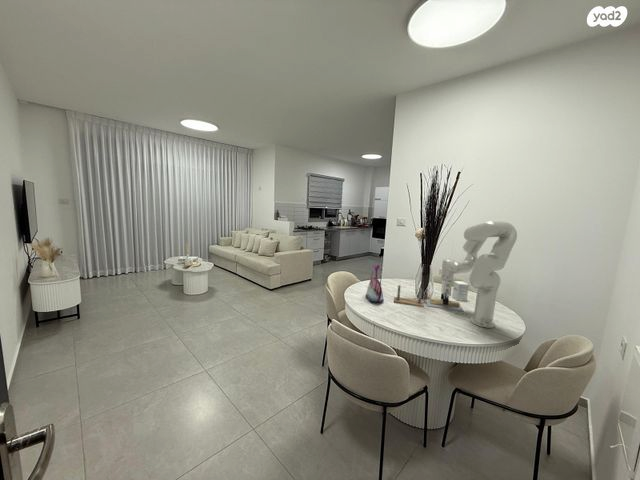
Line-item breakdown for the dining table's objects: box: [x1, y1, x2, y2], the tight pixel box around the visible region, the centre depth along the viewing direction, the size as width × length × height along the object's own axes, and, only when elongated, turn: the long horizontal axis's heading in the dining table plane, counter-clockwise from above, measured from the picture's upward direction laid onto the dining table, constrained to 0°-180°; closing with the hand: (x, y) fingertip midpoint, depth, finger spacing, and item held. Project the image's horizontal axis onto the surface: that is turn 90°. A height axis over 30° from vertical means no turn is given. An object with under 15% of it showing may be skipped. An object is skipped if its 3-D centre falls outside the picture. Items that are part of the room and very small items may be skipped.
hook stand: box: [393, 284, 425, 308], centre depth 185 cm, size 10×19×10 cm, turn 73°
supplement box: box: [451, 280, 470, 302], centre depth 195 cm, size 7×7×13 cm
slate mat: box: [425, 299, 465, 312], centre depth 182 cm, size 12×22×1 cm, turn 73°
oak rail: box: [429, 297, 461, 308], centre depth 182 cm, size 3×18×3 cm, turn 73°
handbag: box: [365, 264, 385, 303], centre depth 187 cm, size 21×10×25 cm, turn 7°
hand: (444, 301), depth 182 cm, fingers open, 9 cm apart
